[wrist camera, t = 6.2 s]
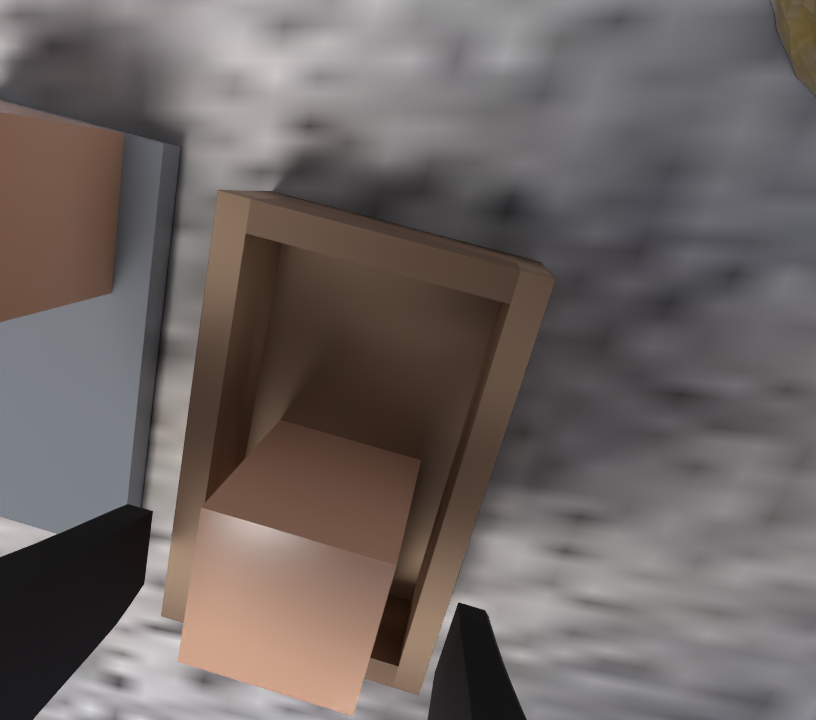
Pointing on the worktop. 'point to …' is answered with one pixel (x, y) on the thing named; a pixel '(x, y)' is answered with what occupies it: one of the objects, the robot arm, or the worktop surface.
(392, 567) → the peach cube
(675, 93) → the worktop surface
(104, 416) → the slate board
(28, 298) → the tan cube
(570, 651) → the worktop surface
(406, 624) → the walnut bin
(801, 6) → the coral
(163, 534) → the worktop surface
